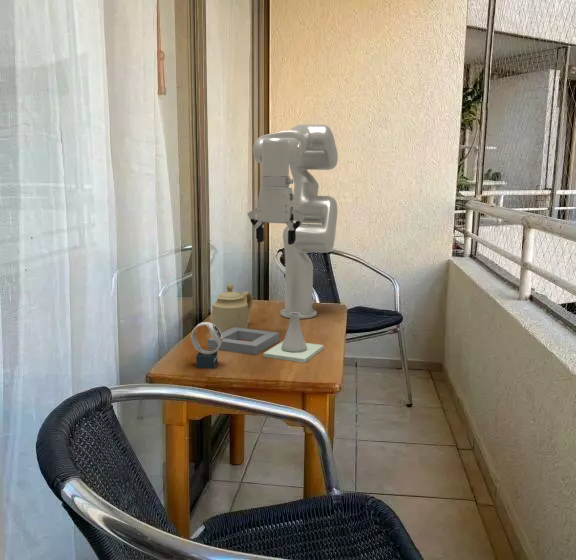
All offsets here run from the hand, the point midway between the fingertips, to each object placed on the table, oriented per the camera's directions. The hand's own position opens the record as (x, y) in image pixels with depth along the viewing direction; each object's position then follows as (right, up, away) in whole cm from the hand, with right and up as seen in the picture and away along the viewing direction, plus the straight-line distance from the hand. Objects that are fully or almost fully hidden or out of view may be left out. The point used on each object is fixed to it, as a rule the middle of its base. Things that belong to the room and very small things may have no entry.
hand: (275, 242), depth 170 cm
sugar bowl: (-14, -26, +17) cm, 34 cm away
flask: (+5, -30, -8) cm, 31 cm away
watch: (-17, -33, -19) cm, 41 cm away
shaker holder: (-9, -29, -1) cm, 31 cm away
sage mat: (+5, -31, -8) cm, 32 cm away
